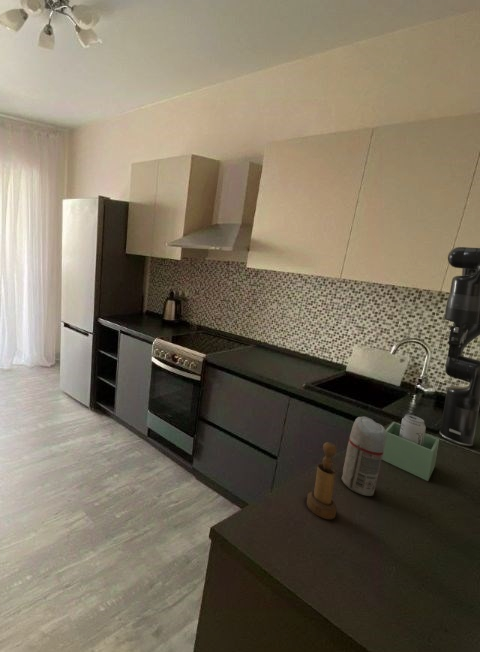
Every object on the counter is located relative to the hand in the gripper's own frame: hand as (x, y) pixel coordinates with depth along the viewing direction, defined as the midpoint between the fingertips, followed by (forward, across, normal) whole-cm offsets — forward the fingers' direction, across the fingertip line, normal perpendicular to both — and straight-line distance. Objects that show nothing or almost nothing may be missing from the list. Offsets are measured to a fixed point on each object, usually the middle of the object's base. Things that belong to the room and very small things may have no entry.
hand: (454, 356), depth 109 cm
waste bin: (+38, -8, +6) cm, 39 cm away
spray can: (+38, -38, +12) cm, 55 cm away
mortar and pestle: (+38, -58, +15) cm, 71 cm away
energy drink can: (+38, -8, +6) cm, 39 cm away
